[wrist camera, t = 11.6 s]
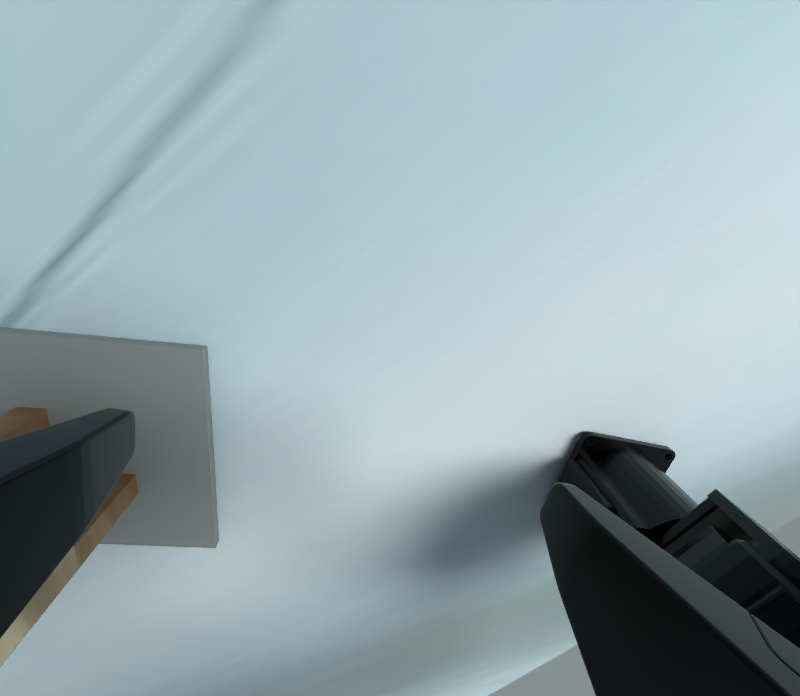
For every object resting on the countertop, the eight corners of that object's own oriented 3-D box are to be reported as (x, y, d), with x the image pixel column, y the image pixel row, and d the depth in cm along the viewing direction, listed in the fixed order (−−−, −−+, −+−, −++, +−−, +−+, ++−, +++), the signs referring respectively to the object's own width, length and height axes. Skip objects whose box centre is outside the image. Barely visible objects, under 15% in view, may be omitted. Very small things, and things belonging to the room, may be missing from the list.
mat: (207, 346, 21) (202, 350, 20) (218, 540, 26) (215, 547, 25) (-86, 319, 19) (-100, 323, 19) (-12, 531, 24) (-22, 538, 24)
